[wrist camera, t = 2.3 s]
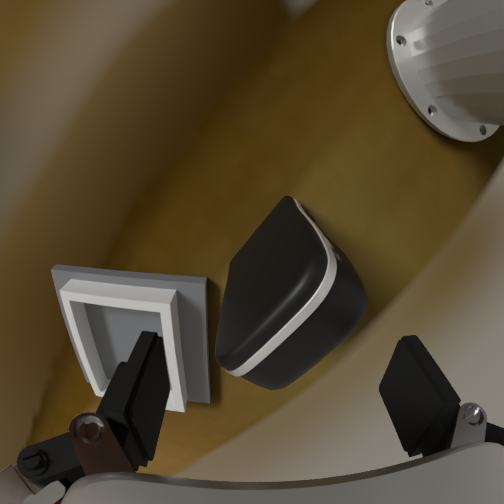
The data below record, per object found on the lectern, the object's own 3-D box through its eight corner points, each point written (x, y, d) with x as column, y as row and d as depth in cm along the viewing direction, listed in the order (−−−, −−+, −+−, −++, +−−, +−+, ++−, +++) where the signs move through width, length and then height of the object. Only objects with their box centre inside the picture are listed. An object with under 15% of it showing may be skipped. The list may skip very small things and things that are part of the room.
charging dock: (207, 277, 22) (200, 297, 19) (210, 396, 28) (207, 418, 25) (56, 264, 22) (38, 279, 19) (90, 376, 27) (80, 394, 24)
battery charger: (266, 291, 23) (275, 413, 12) (226, 263, 22) (204, 380, 11) (328, 223, 20) (395, 314, 10) (287, 189, 20) (326, 257, 9)
